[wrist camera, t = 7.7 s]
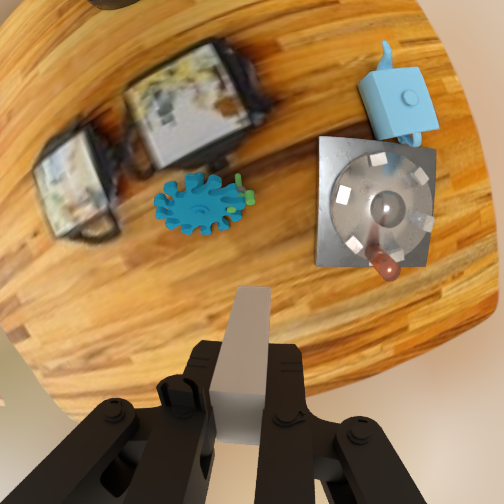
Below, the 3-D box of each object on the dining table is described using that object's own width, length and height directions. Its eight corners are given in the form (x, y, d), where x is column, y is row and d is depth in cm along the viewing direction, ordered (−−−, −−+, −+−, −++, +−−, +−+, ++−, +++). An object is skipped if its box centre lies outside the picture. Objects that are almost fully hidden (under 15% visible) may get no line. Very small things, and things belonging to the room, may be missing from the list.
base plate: (316, 137, 31) (319, 136, 29) (428, 149, 29) (436, 149, 27) (314, 261, 35) (316, 267, 33) (419, 261, 34) (426, 267, 32)
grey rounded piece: (317, 243, 32) (328, 266, 25) (345, 137, 28) (366, 131, 21) (407, 267, 32) (434, 293, 25) (436, 173, 28) (472, 178, 21)
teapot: (345, 62, 27) (360, 39, 20) (387, 57, 26) (410, 36, 19) (376, 153, 30) (402, 151, 23) (417, 145, 29) (448, 142, 22)
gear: (167, 243, 34) (140, 192, 26) (169, 205, 37) (148, 151, 28) (256, 234, 35) (255, 177, 26) (251, 195, 37) (249, 137, 29)
